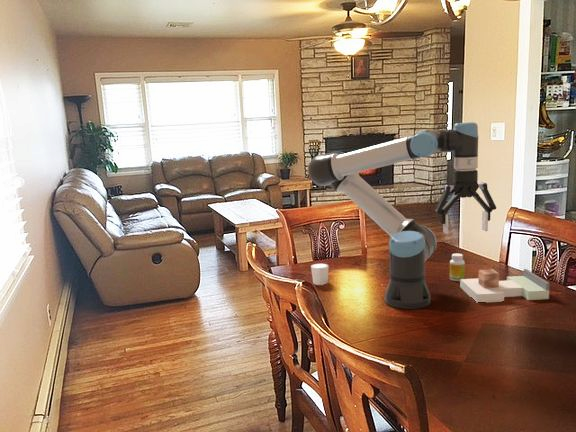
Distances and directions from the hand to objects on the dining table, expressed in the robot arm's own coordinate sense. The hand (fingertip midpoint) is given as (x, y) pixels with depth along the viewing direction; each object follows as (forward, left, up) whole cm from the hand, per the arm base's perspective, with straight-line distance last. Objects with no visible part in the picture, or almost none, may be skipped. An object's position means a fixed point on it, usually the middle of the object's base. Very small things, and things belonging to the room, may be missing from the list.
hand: (465, 231), depth 170 cm
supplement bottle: (+3, +17, -23) cm, 28 cm away
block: (+8, 0, -19) cm, 21 cm away
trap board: (+13, 0, -22) cm, 26 cm away
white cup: (-49, +22, -23) cm, 58 cm away
